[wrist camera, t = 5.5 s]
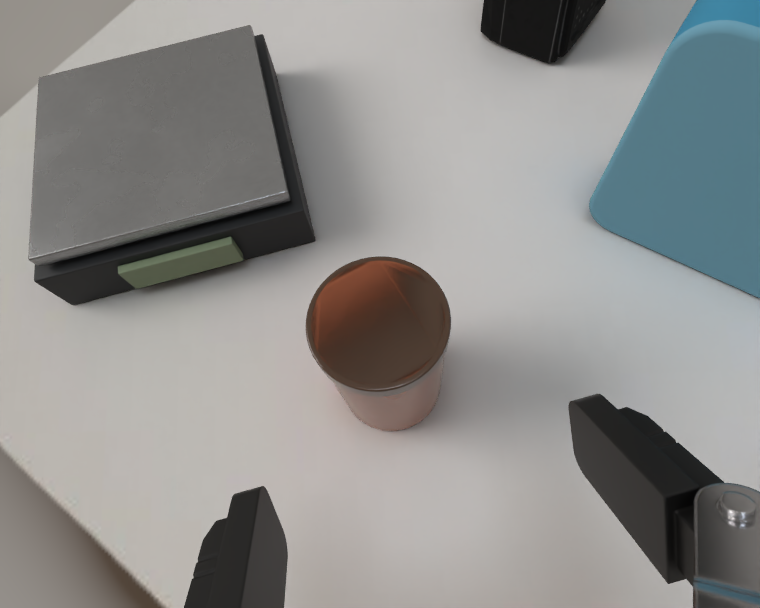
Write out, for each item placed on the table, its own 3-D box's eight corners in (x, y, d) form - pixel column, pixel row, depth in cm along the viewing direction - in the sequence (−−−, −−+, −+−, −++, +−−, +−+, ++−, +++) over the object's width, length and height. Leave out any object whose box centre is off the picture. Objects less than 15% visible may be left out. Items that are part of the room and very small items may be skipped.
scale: (72, 313, 27) (32, 290, 24) (74, 124, 33) (43, 88, 30) (317, 248, 28) (306, 218, 25) (275, 73, 34) (262, 33, 31)
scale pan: (39, 267, 24) (27, 260, 24) (47, 87, 30) (37, 77, 29) (291, 201, 25) (287, 191, 24) (254, 36, 30) (250, 24, 30)
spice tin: (353, 446, 23) (321, 409, 16) (331, 348, 25) (293, 276, 18) (456, 417, 23) (471, 368, 16) (425, 322, 25) (426, 240, 18)
